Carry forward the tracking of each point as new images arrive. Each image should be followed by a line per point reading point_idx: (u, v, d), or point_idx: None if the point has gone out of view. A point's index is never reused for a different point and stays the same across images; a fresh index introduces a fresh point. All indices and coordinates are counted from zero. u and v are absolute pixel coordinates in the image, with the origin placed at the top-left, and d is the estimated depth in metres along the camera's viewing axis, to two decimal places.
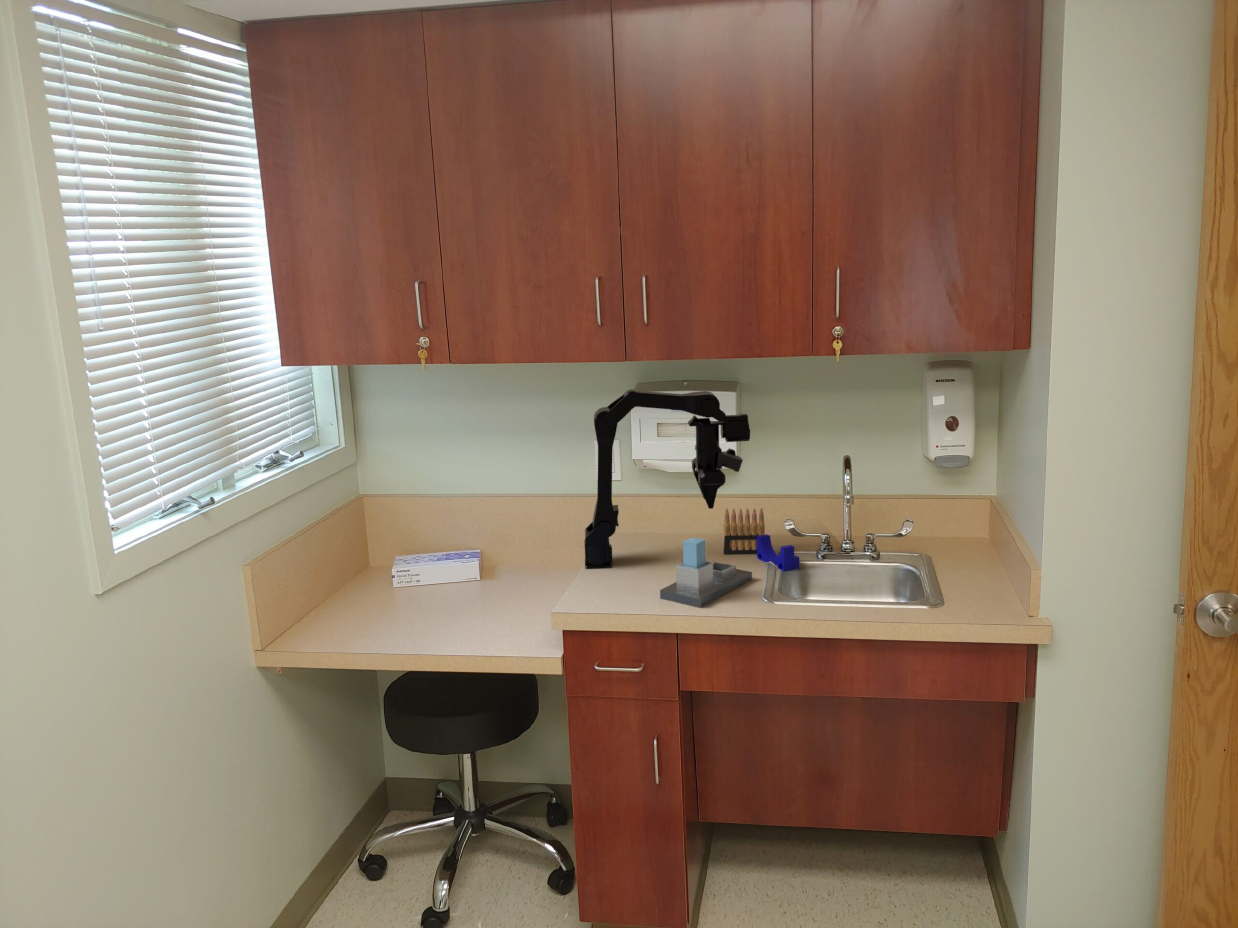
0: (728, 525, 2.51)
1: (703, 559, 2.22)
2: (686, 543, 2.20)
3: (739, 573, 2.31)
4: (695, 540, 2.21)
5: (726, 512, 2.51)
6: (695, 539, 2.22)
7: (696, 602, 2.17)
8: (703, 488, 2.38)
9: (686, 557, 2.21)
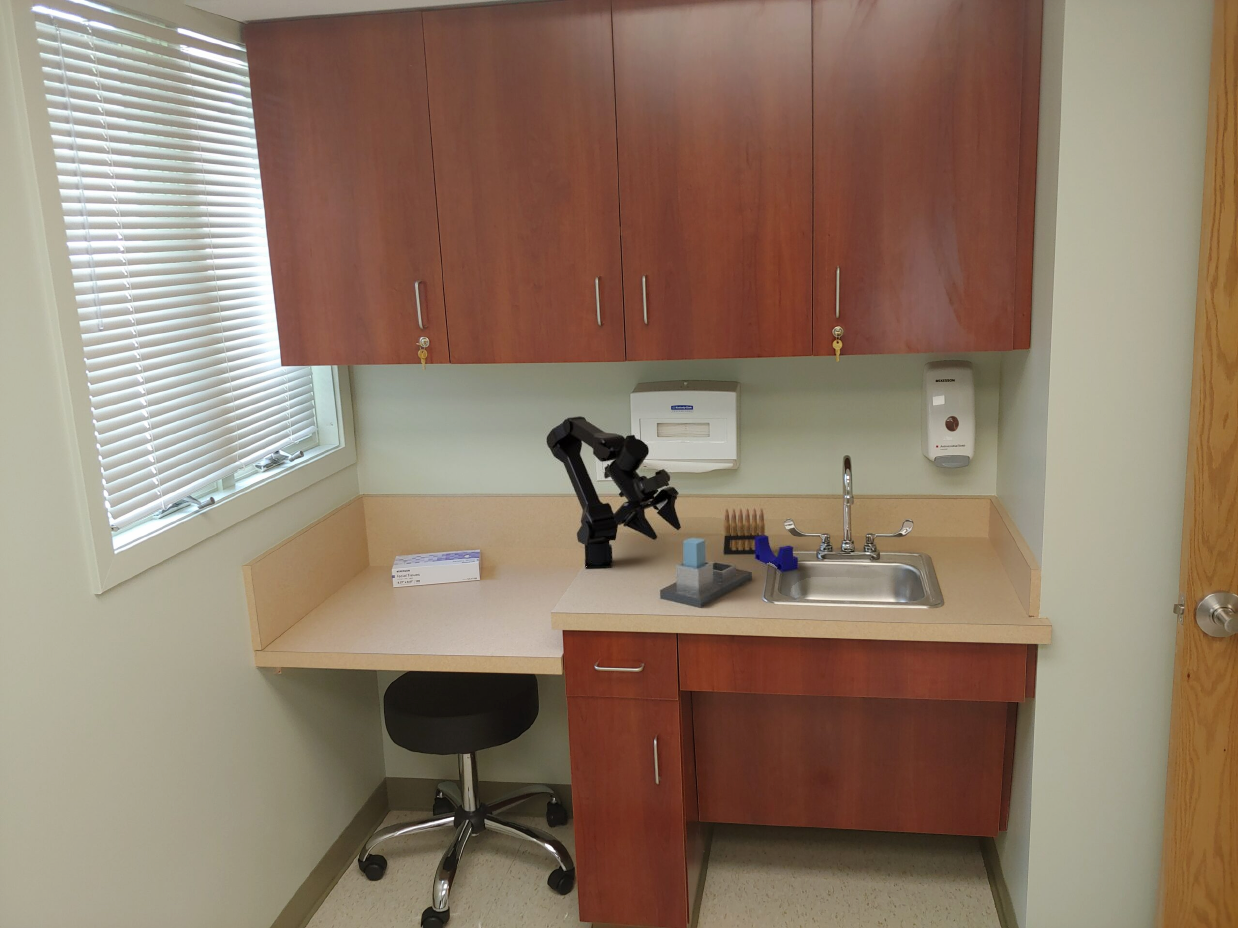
0: (728, 525, 2.51)
1: (703, 559, 2.22)
2: (686, 543, 2.20)
3: (739, 573, 2.31)
4: (695, 540, 2.21)
5: (726, 512, 2.51)
6: (695, 539, 2.22)
7: (696, 602, 2.17)
8: (632, 526, 2.23)
9: (686, 557, 2.21)
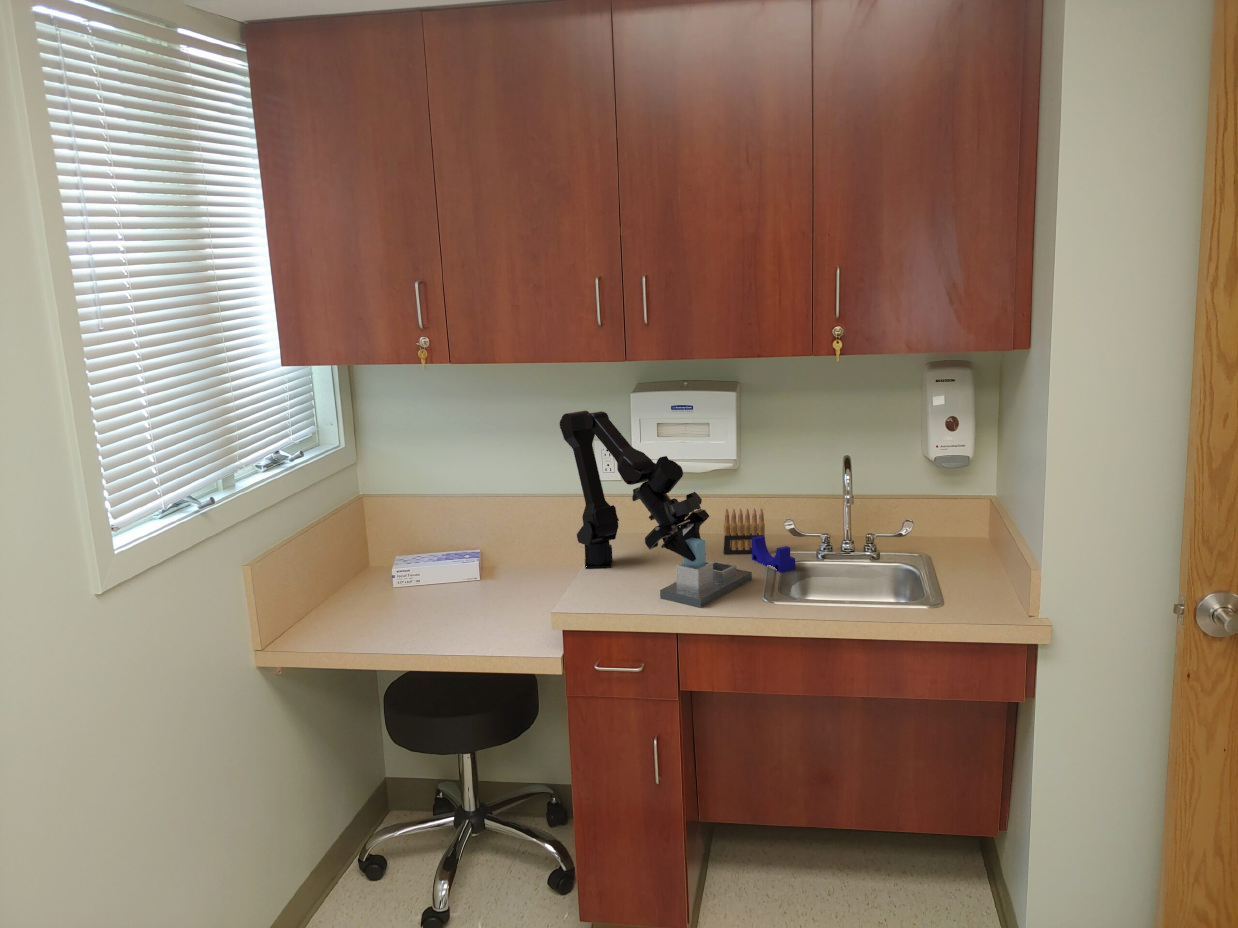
0: (728, 525, 2.51)
1: (703, 559, 2.22)
2: None
3: (739, 573, 2.31)
4: (695, 540, 2.21)
5: (726, 512, 2.51)
6: (695, 539, 2.22)
7: (696, 602, 2.17)
8: (670, 547, 2.21)
9: None
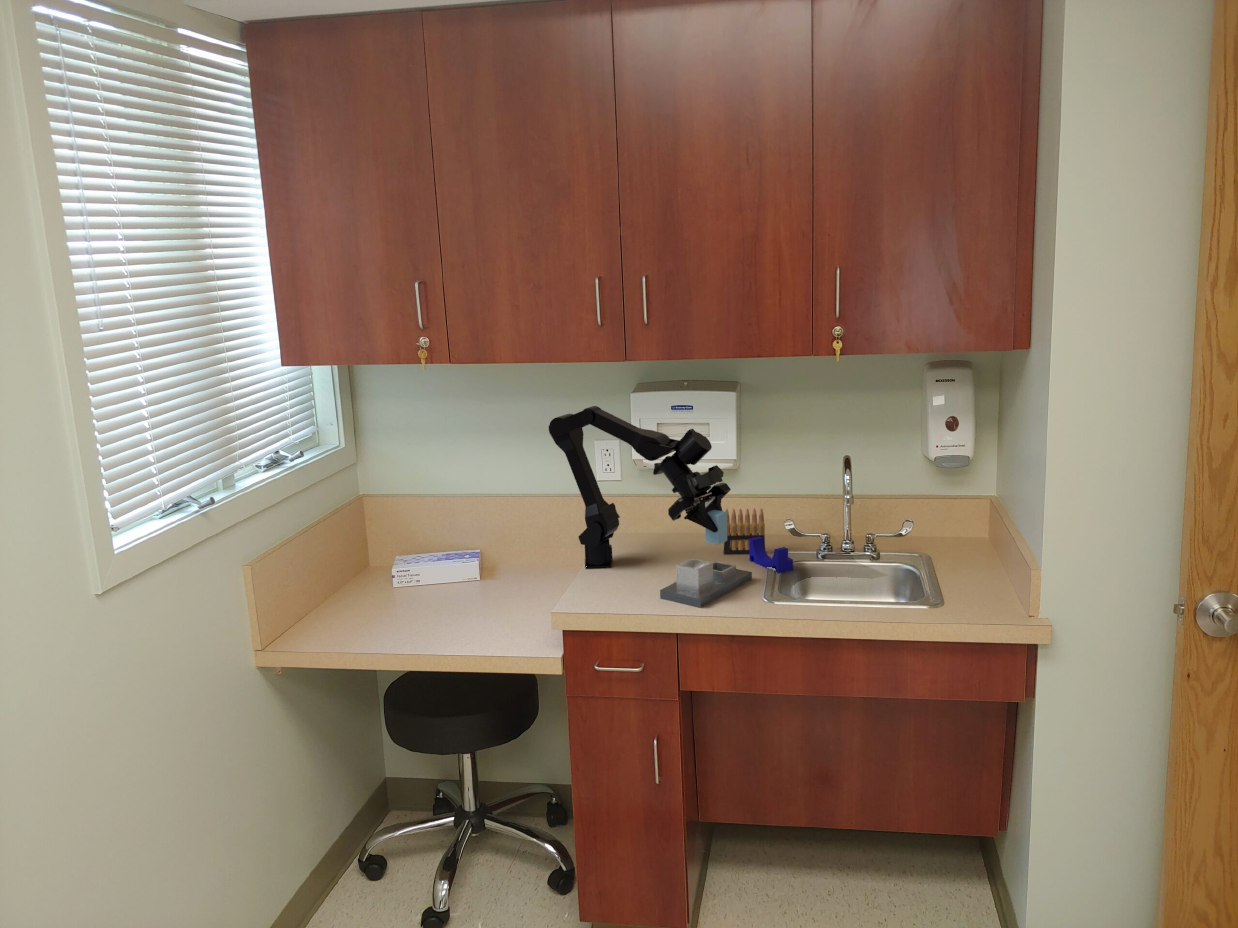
0: (728, 525, 2.51)
1: (725, 530, 2.28)
2: None
3: (739, 573, 2.31)
4: (717, 512, 2.27)
5: None
6: (717, 511, 2.28)
7: (696, 602, 2.17)
8: (692, 519, 2.27)
9: None
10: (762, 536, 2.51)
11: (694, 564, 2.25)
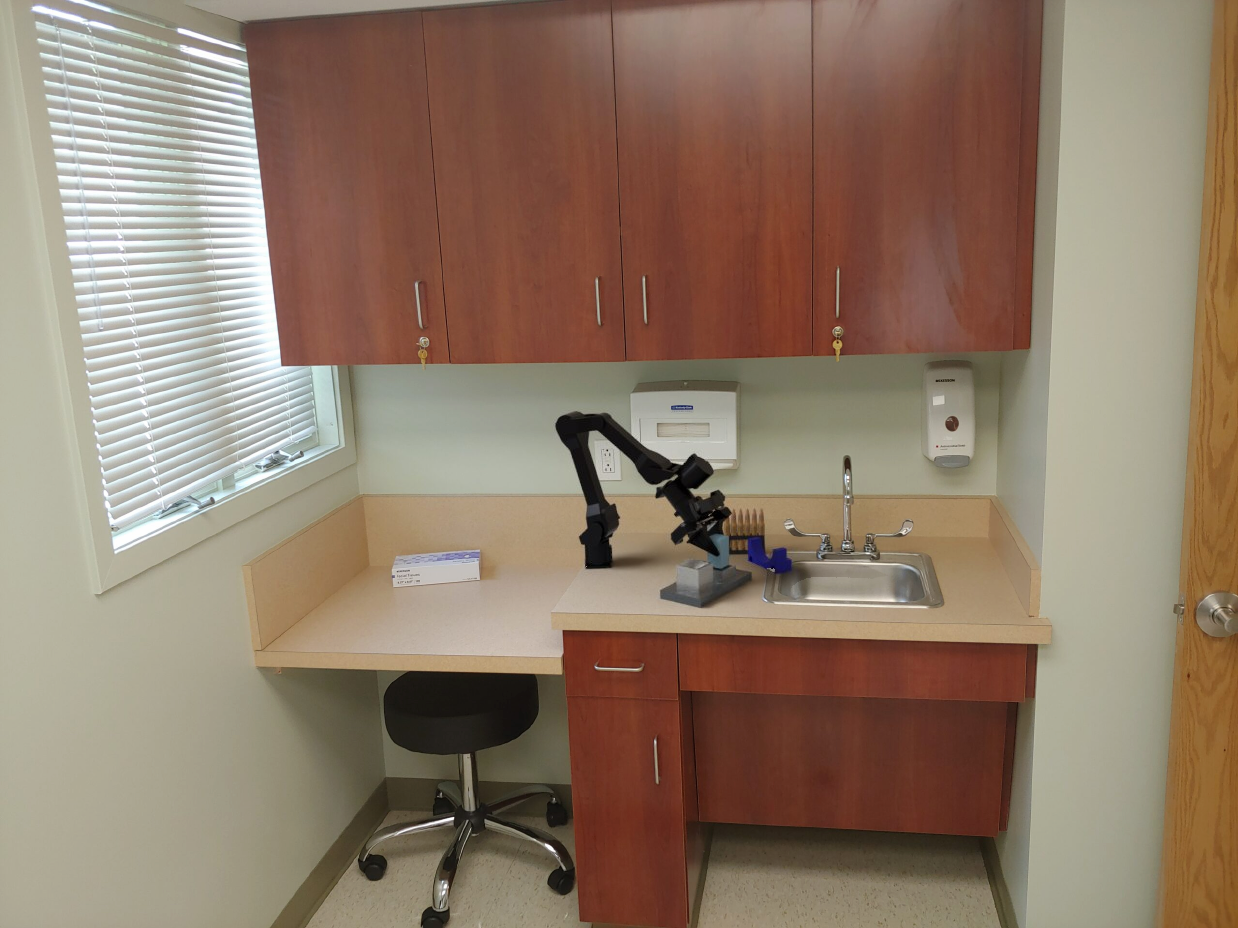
0: (728, 525, 2.51)
1: (727, 554, 2.30)
2: None
3: (739, 573, 2.31)
4: (719, 536, 2.29)
5: None
6: (719, 535, 2.30)
7: (696, 602, 2.17)
8: (694, 543, 2.29)
9: None
10: (762, 536, 2.51)
11: (694, 564, 2.25)
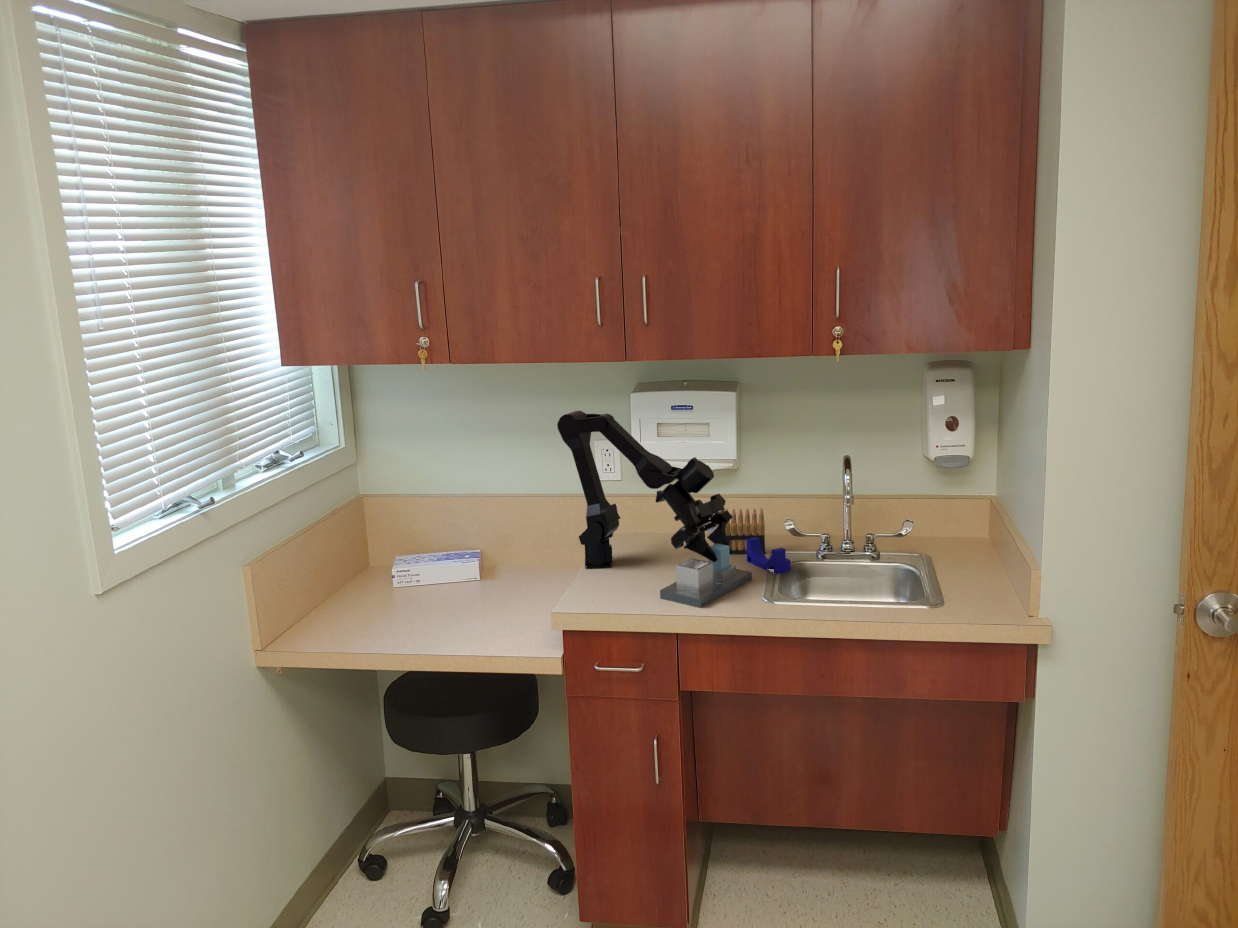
0: (728, 525, 2.51)
1: (727, 564, 2.30)
2: None
3: (739, 573, 2.31)
4: (720, 546, 2.30)
5: None
6: (720, 545, 2.31)
7: (696, 602, 2.17)
8: (692, 548, 2.28)
9: None
10: (762, 536, 2.51)
11: (694, 564, 2.25)
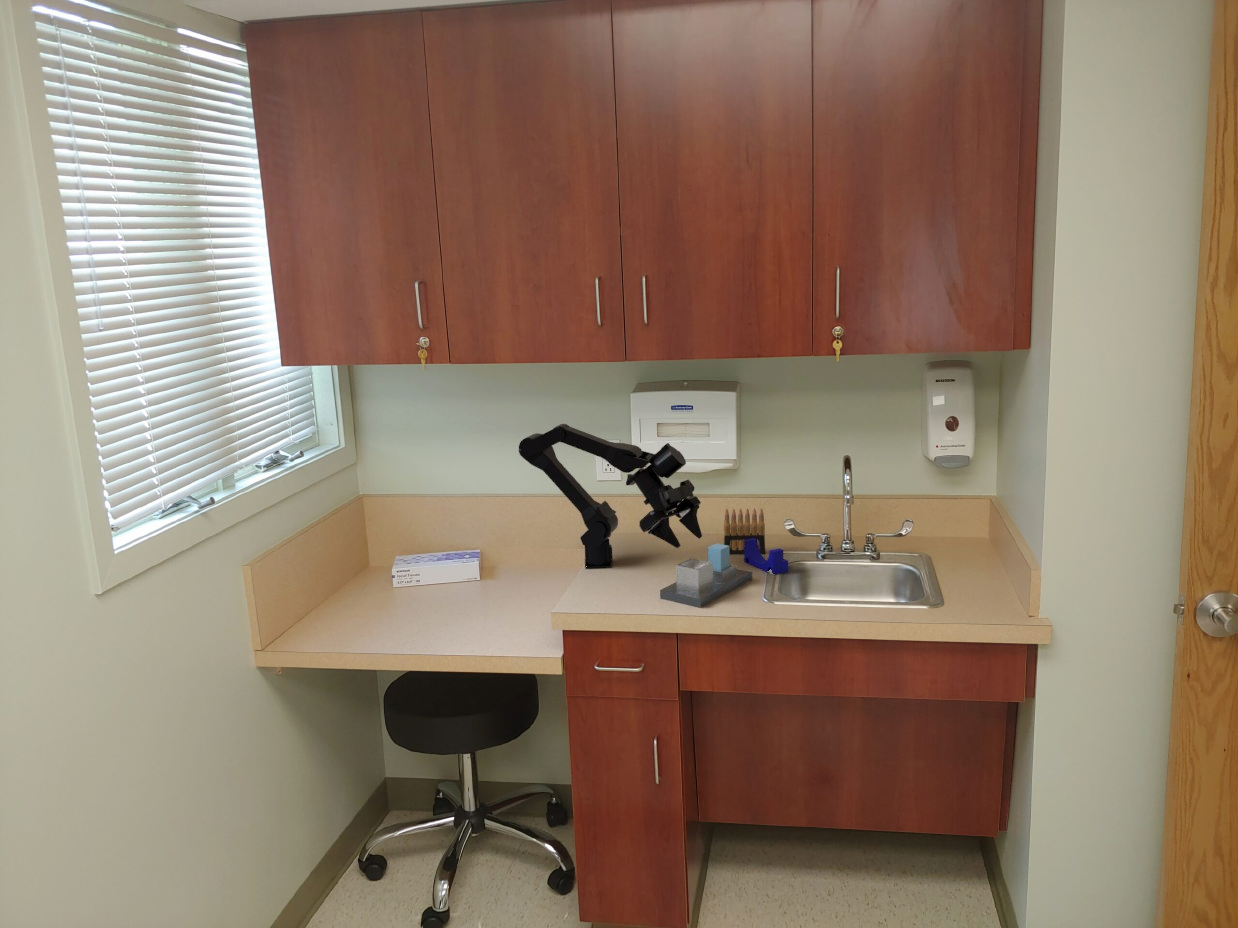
0: (728, 525, 2.51)
1: (727, 564, 2.30)
2: (711, 549, 2.29)
3: (739, 573, 2.31)
4: (720, 546, 2.30)
5: (726, 512, 2.51)
6: (719, 545, 2.31)
7: (696, 602, 2.17)
8: (656, 533, 2.32)
9: None
10: (762, 536, 2.51)
11: (694, 564, 2.25)
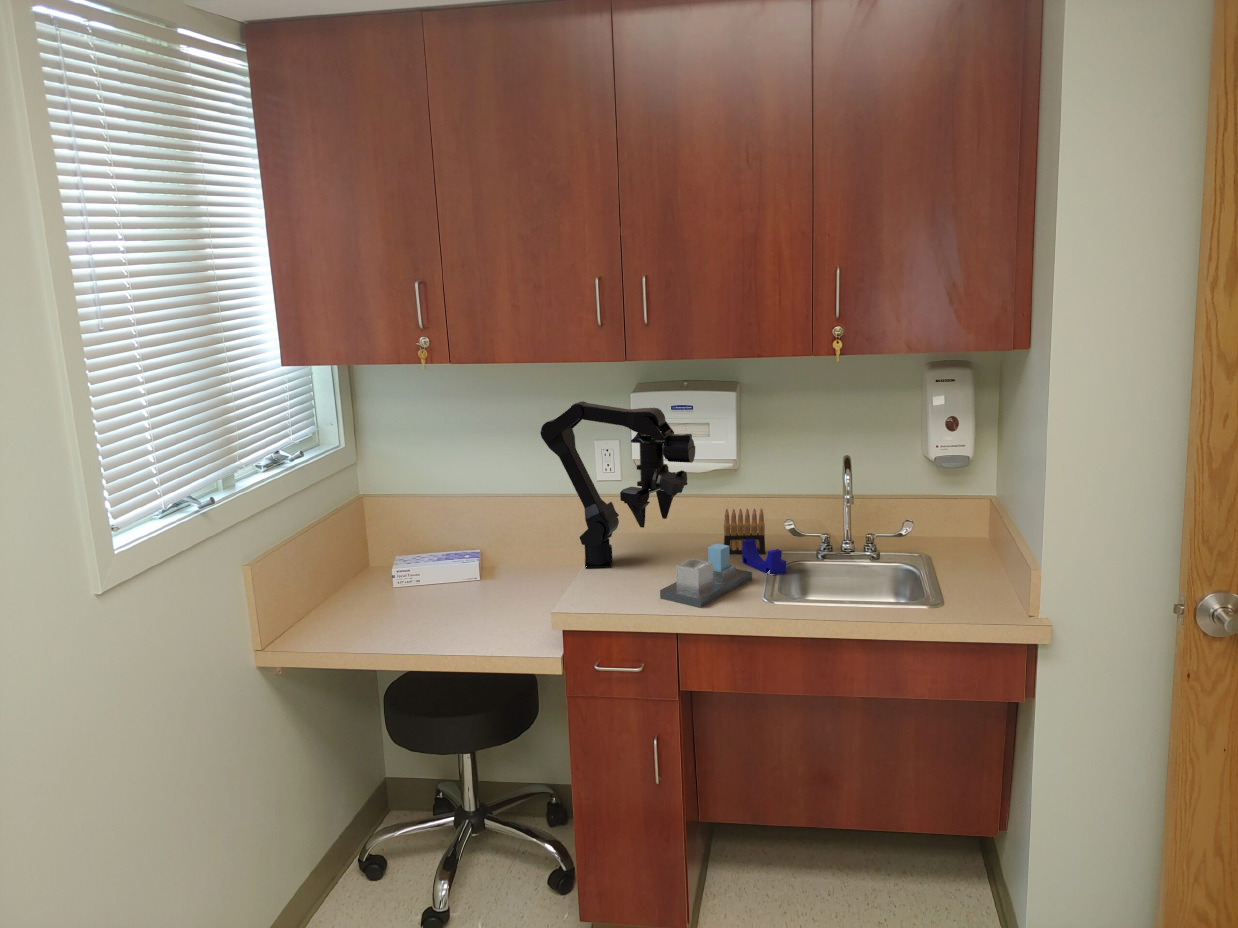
0: (728, 525, 2.51)
1: (727, 564, 2.30)
2: (711, 549, 2.29)
3: (739, 573, 2.31)
4: (720, 546, 2.30)
5: (726, 512, 2.51)
6: (719, 545, 2.31)
7: (696, 602, 2.17)
8: (630, 505, 2.35)
9: None
10: (762, 536, 2.51)
11: (694, 564, 2.25)
